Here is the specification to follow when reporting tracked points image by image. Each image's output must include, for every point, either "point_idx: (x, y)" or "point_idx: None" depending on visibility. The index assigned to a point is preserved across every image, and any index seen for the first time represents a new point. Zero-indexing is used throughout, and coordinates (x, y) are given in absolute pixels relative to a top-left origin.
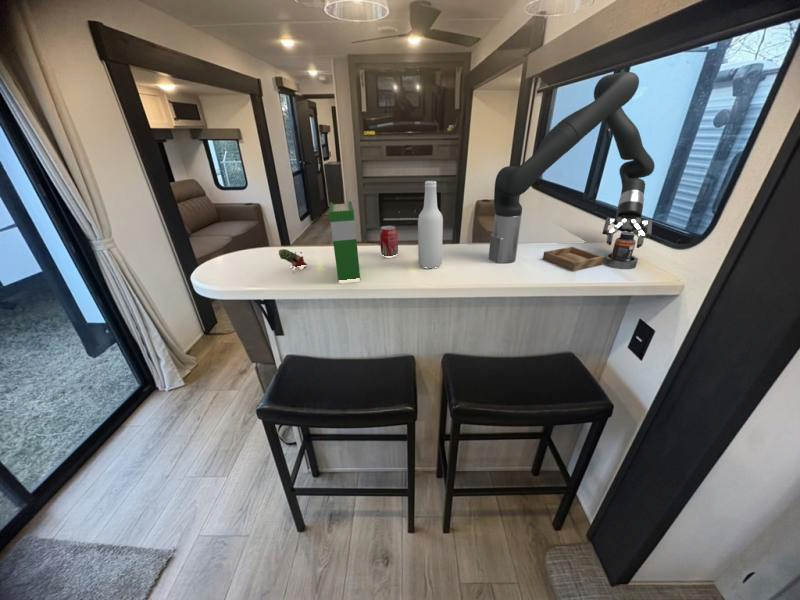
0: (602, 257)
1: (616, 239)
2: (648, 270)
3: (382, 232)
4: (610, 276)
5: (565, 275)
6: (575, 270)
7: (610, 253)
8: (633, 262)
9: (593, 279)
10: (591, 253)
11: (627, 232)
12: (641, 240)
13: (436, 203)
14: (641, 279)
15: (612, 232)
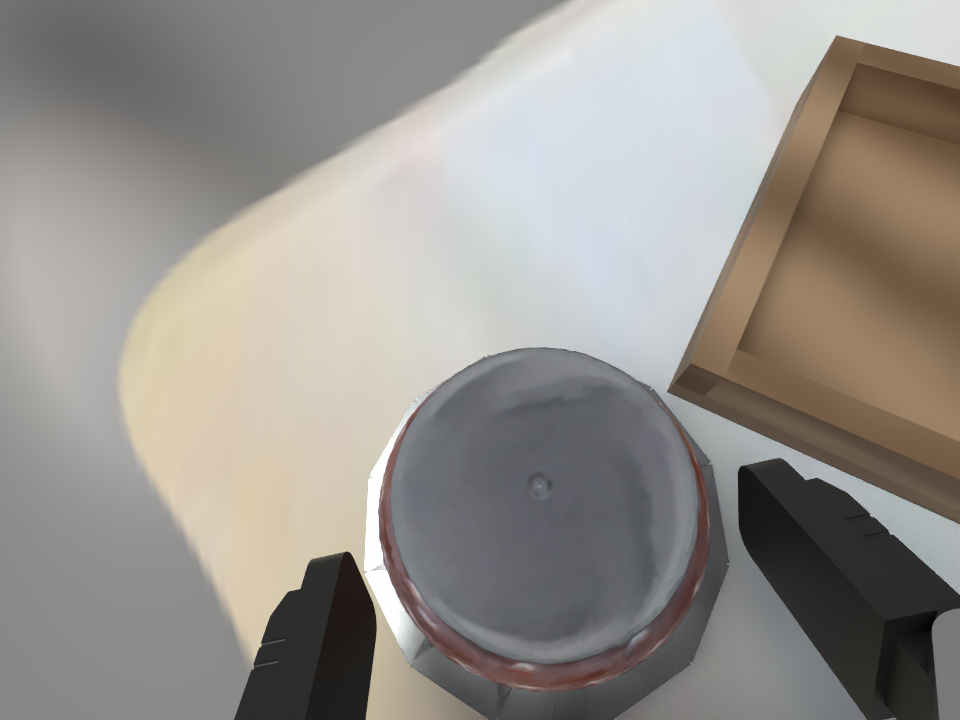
0: (700, 339)
1: (698, 466)
2: (287, 479)
3: None
4: (533, 167)
5: (799, 15)
6: (789, 120)
7: (686, 628)
8: (402, 423)
9: (615, 57)
10: (864, 416)
11: (563, 570)
12: (283, 667)
13: None
14: (338, 233)
15: (935, 640)
